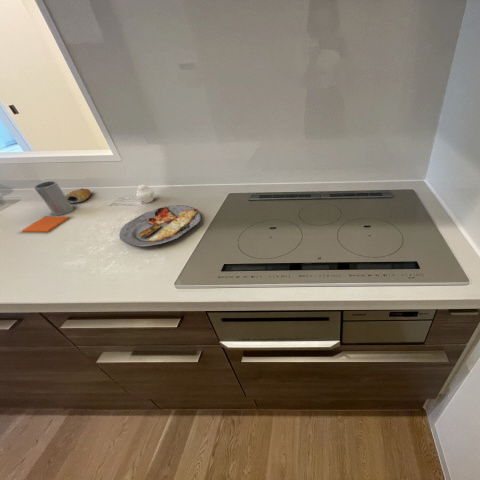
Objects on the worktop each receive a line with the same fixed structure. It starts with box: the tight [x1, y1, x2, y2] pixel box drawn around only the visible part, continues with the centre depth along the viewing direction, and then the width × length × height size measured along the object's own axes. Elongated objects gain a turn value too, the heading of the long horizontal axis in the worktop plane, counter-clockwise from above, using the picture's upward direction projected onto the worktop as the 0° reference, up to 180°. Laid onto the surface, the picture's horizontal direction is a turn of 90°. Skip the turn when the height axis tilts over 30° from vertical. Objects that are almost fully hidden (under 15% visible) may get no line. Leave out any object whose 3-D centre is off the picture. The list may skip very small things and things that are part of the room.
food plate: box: [118, 204, 202, 247], centre depth 90 cm, size 25×23×4 cm
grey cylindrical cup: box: [33, 180, 74, 216], centre depth 98 cm, size 6×6×11 cm
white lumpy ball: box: [135, 184, 155, 204], centre depth 105 cm, size 6×6×7 cm
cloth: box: [21, 215, 70, 233], centre depth 94 cm, size 9×9×1 cm
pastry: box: [65, 188, 92, 204], centre depth 109 cm, size 9×7×4 cm
